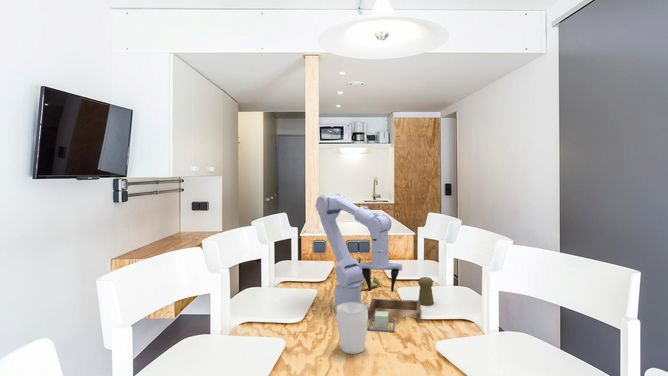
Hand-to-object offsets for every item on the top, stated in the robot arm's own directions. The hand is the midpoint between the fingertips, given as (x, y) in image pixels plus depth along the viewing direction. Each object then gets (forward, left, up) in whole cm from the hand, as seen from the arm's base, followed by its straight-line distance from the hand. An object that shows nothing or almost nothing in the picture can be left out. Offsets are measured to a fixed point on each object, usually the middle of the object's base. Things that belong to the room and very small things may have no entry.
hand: (381, 290), depth 127 cm
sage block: (+1, -9, -10) cm, 13 cm away
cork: (+15, +14, -10) cm, 23 cm away
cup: (-6, -23, -10) cm, 26 cm away
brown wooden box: (+4, +1, -10) cm, 11 cm away
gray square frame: (+1, -10, -10) cm, 14 cm away
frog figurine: (-12, +34, -10) cm, 37 cm away
